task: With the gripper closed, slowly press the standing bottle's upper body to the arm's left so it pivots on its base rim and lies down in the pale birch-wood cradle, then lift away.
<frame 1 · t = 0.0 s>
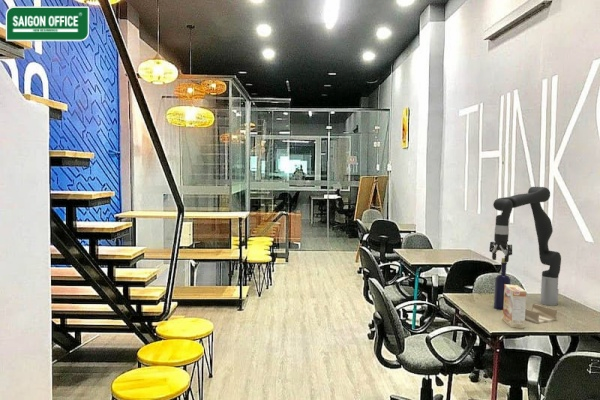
hand: (500, 261, 291), 29 cm above the table, tool pointing down, fingers open, 8 cm apart
u rest: (535, 318, 278), on the table
coffeecake box: (513, 324, 267), on the table
bottle: (501, 308, 298), on the table
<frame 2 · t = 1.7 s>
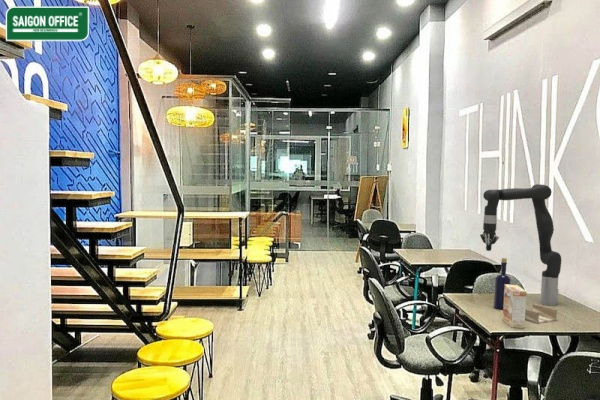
hand: (488, 250, 307), 33 cm above the table, tool pointing down, fingers closed
nothing on the table moved.
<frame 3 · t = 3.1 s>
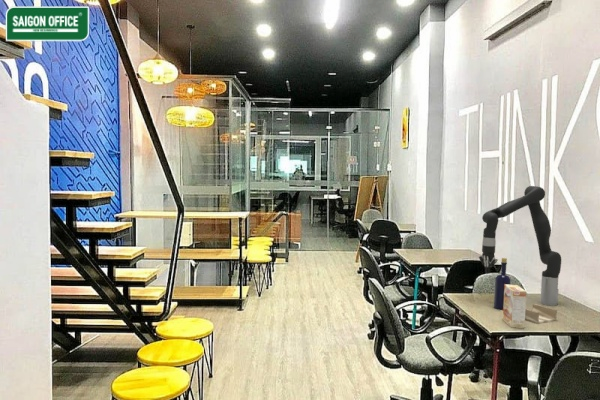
hand: (487, 272, 308), 19 cm above the table, tool pointing down, fingers closed
nothing on the table moved.
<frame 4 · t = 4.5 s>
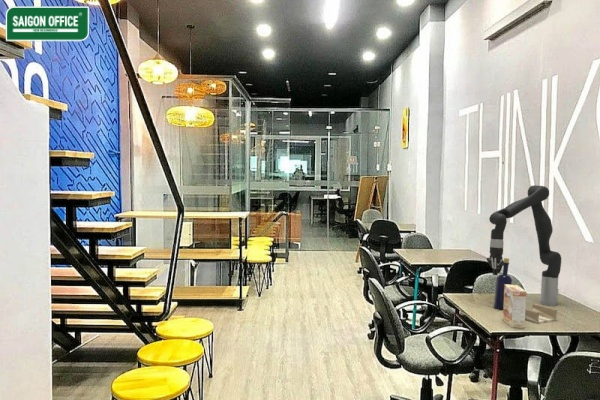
hand: (495, 274, 303), 19 cm above the table, tool pointing down, fingers closed
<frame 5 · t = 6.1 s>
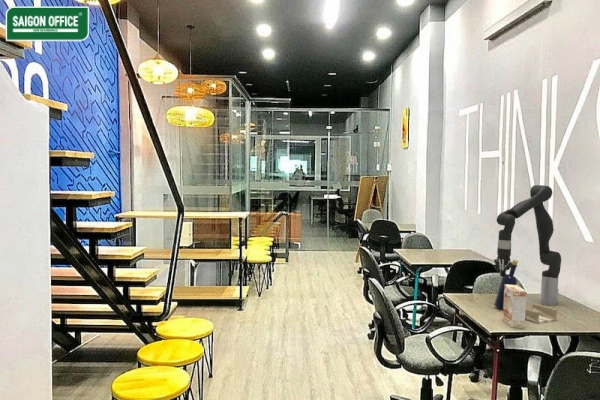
hand: (502, 276, 298), 19 cm above the table, tool pointing down, fingers closed
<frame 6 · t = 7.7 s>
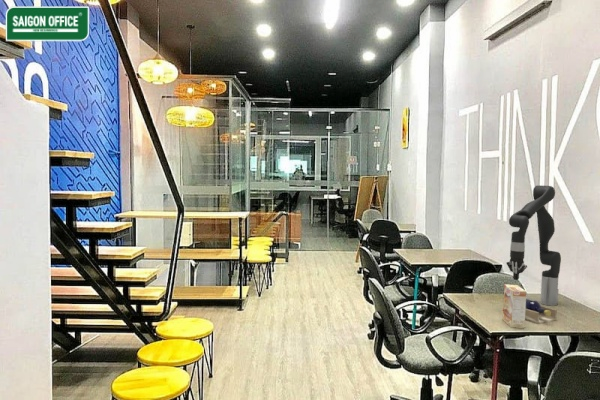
hand: (515, 279, 289), 19 cm above the table, tool pointing down, fingers closed
bottle: (515, 302, 296), point 4 cm above the table, touching u rest
everything else where it was.
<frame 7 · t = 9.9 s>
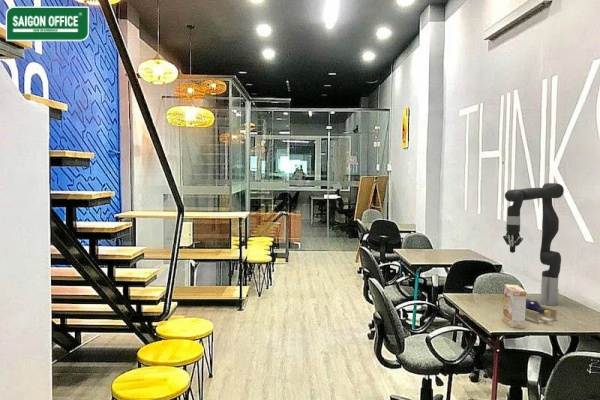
hand: (512, 252, 299), 33 cm above the table, tool pointing down, fingers closed
nothing on the table moved.
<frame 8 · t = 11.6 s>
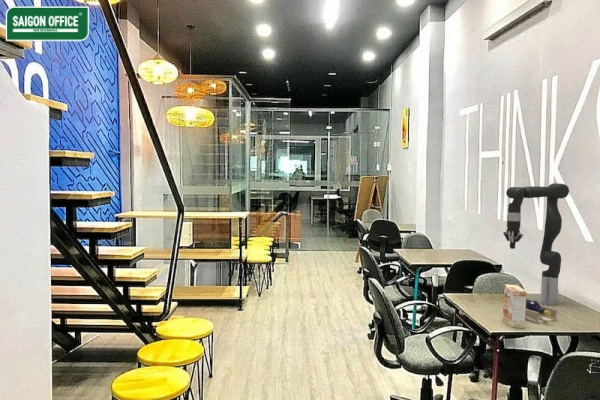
hand: (512, 248, 304), 35 cm above the table, tool pointing down, fingers closed
nothing on the table moved.
at the end: bottle tilted 86°; bottle touching table, u rest; bottle inside the target area (5.1 cm from its centre), point 4.3 cm above the table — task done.
